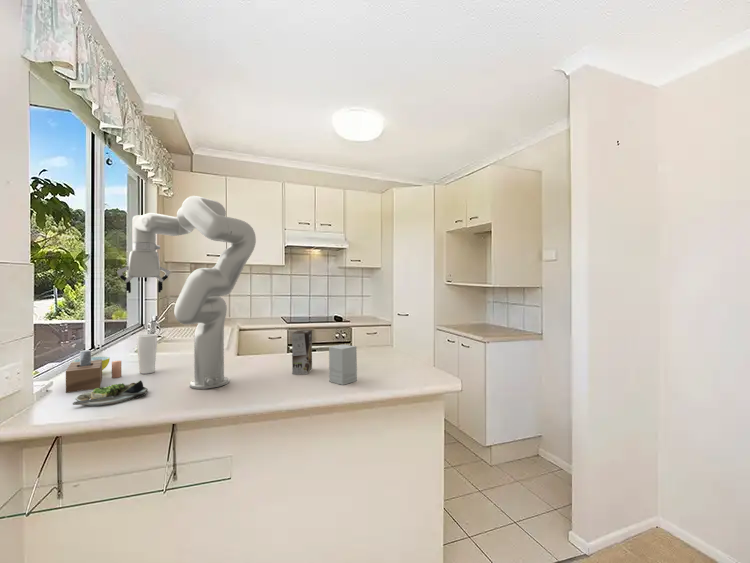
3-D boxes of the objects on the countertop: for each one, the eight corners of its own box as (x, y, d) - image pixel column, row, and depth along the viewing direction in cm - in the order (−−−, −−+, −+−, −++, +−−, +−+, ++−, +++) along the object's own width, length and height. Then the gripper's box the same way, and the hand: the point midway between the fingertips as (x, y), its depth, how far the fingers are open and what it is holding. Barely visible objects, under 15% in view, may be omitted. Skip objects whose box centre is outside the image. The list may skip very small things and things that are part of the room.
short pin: (121, 377, 137) (121, 361, 137) (111, 378, 136) (111, 362, 136) (121, 375, 140) (121, 360, 140) (111, 376, 138) (111, 361, 138)
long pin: (90, 384, 127) (90, 351, 127) (79, 386, 126) (79, 352, 126) (91, 383, 130) (91, 349, 130) (80, 384, 128) (80, 350, 128)
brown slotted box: (100, 387, 124) (99, 367, 124) (65, 392, 118) (65, 371, 118) (102, 377, 137) (102, 359, 137) (71, 381, 132) (71, 362, 132)
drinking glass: (161, 370, 147) (160, 334, 147) (149, 374, 141) (148, 336, 141) (145, 370, 148) (145, 333, 148) (133, 374, 141) (132, 336, 141)
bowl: (116, 371, 147) (116, 356, 147) (95, 378, 136) (95, 362, 136) (88, 371, 147) (88, 356, 147) (65, 379, 135) (64, 362, 135)
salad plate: (86, 414, 99) (86, 398, 99) (57, 404, 108) (57, 389, 108) (157, 395, 116) (157, 380, 116) (127, 387, 125) (127, 374, 125)
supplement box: (357, 381, 130) (357, 346, 130) (342, 385, 125) (342, 349, 125) (343, 377, 135) (343, 343, 135) (328, 381, 130) (328, 346, 130)
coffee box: (308, 374, 140) (308, 333, 140) (291, 374, 140) (291, 333, 140) (312, 368, 149) (312, 329, 149) (297, 368, 149) (296, 329, 149)
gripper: (169, 249, 146) (169, 291, 146) (116, 247, 136) (117, 293, 136) (171, 248, 140) (171, 292, 140) (116, 246, 130) (116, 293, 130)
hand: (144, 292), depth 138 cm, fingers open, 9 cm apart
